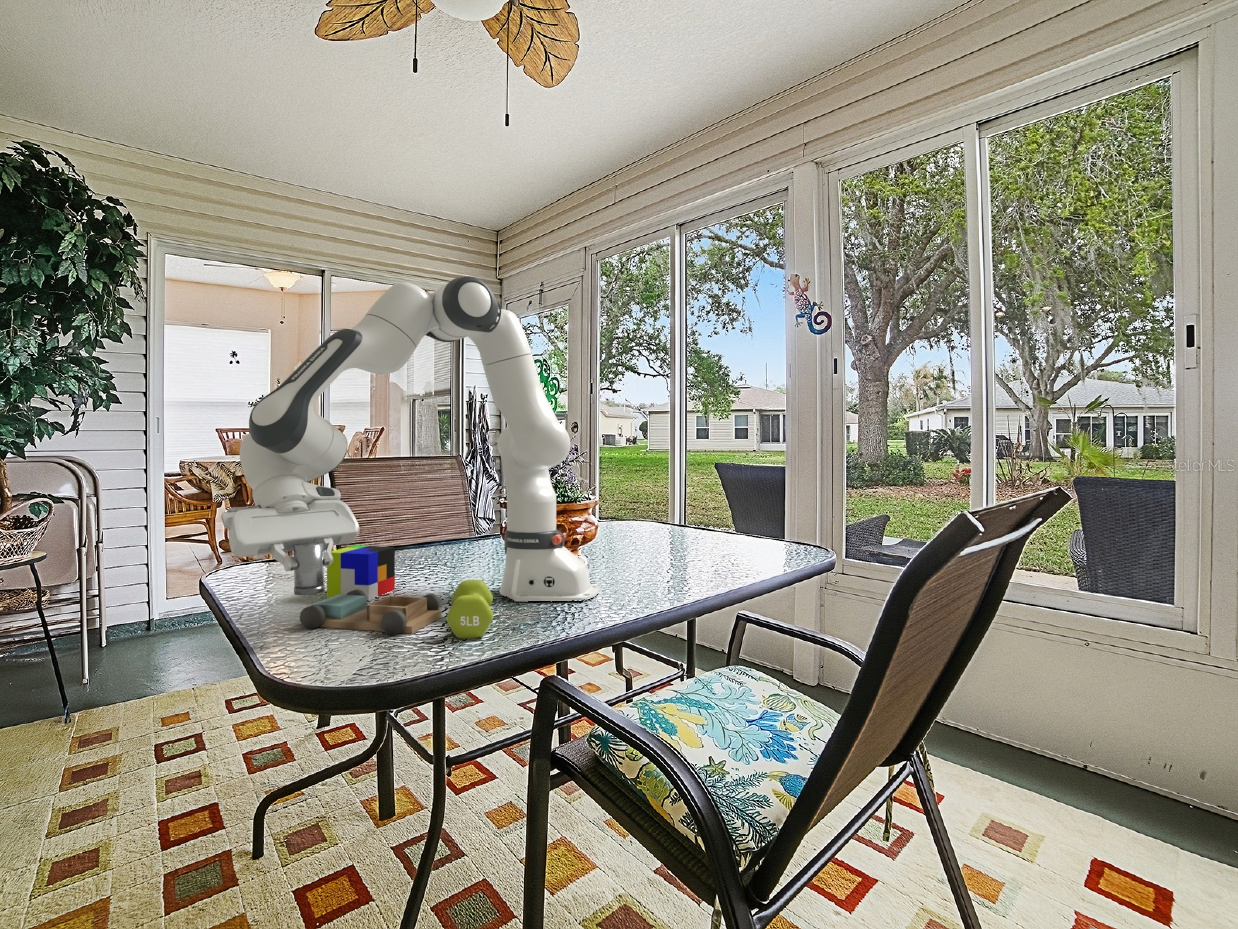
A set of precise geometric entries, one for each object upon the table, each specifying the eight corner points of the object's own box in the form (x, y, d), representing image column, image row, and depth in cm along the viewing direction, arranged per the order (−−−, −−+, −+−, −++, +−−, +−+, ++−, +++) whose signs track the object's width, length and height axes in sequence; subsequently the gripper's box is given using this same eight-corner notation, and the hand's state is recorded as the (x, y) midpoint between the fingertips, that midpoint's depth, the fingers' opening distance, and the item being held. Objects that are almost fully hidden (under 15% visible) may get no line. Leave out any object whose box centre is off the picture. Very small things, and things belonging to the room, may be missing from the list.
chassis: (445, 614, 121) (445, 594, 121) (407, 636, 107) (407, 613, 107) (344, 608, 125) (344, 588, 125) (294, 628, 111) (294, 606, 111)
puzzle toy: (368, 601, 132) (368, 554, 131) (326, 598, 134) (326, 552, 133) (394, 590, 141) (394, 547, 141) (355, 588, 143) (355, 545, 143)
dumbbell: (493, 639, 106) (493, 597, 106) (444, 641, 104) (444, 599, 104) (493, 614, 122) (493, 578, 122) (451, 616, 121) (451, 579, 120)
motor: (330, 589, 106) (329, 542, 106) (312, 595, 101) (311, 547, 101) (306, 588, 107) (305, 541, 106) (287, 594, 102) (286, 546, 102)
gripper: (222, 496, 100) (245, 563, 94) (347, 488, 116) (374, 546, 109) (214, 521, 103) (236, 588, 97) (337, 511, 119) (362, 568, 113)
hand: (310, 566), depth 103 cm, fingers closed on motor, 4 cm apart
